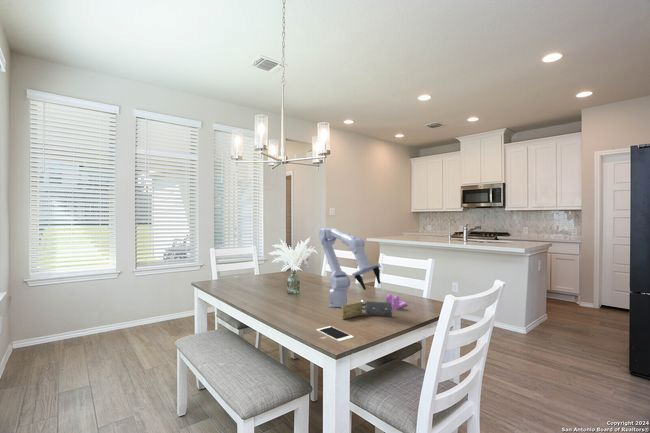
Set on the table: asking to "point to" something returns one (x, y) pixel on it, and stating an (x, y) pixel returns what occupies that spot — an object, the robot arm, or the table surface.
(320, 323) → the table surface
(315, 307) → the table surface
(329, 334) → the cell phone
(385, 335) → the table surface
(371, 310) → the dark grey piece
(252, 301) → the table surface
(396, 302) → the bracket
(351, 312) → the brass leaf
